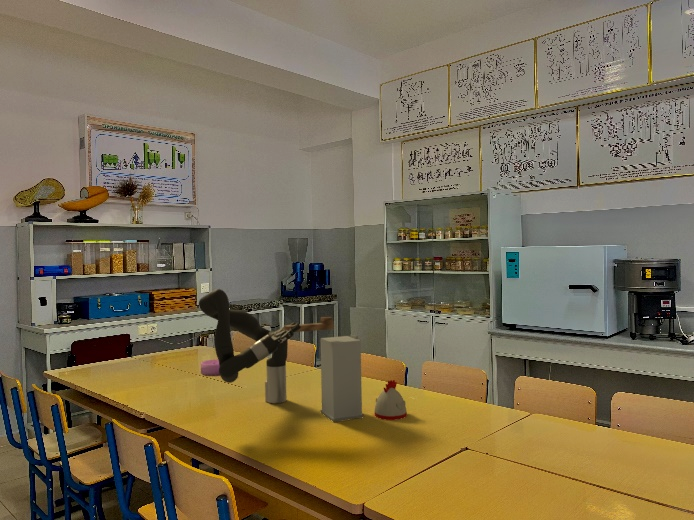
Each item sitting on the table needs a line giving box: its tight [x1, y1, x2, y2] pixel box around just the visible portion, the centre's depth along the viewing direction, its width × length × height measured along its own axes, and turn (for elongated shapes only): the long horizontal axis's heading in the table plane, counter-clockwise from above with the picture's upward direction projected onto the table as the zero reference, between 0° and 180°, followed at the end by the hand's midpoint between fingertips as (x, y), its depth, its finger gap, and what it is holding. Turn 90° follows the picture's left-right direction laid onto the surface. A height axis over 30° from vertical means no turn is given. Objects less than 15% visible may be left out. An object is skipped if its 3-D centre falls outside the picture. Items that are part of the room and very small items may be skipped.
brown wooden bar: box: [283, 316, 335, 333], centre depth 228 cm, size 21×4×5 cm, turn 114°
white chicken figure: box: [374, 379, 408, 421], centre depth 233 cm, size 14×14×15 cm
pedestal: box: [319, 334, 365, 423], centre depth 234 cm, size 14×15×34 cm
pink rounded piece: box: [200, 358, 220, 376], centre depth 320 cm, size 25×15×13 cm, turn 45°
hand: (297, 324), depth 226 cm, fingers closed on brown wooden bar, 4 cm apart
